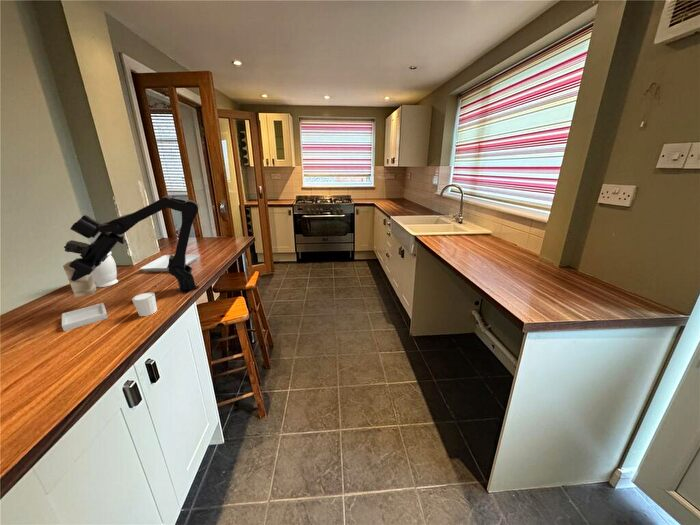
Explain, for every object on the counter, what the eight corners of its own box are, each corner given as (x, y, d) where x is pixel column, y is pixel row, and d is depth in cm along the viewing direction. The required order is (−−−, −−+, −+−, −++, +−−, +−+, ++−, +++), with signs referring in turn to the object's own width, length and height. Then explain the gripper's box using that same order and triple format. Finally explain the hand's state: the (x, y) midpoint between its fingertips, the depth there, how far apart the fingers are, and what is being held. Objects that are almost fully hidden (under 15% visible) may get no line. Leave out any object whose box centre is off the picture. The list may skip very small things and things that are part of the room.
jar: (87, 286, 128) (75, 255, 123) (112, 278, 137) (102, 249, 132) (101, 290, 124) (89, 258, 119) (126, 281, 133) (116, 251, 128)
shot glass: (148, 318, 101) (142, 301, 98) (132, 317, 102) (126, 299, 100) (163, 309, 107) (159, 292, 105) (148, 307, 108) (143, 291, 106)
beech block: (96, 289, 111) (85, 259, 107) (92, 294, 107) (80, 263, 103) (80, 291, 109) (68, 261, 105) (75, 296, 105) (62, 265, 101)
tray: (104, 307, 109) (103, 302, 109) (108, 318, 101) (106, 313, 101) (63, 318, 102) (61, 313, 101) (64, 331, 94) (61, 326, 93)
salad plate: (181, 273, 142) (179, 267, 141) (139, 274, 142) (137, 268, 141) (202, 259, 162) (201, 254, 161) (166, 260, 162) (164, 254, 161)
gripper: (87, 227, 110) (61, 258, 109) (66, 238, 94) (35, 275, 93) (118, 244, 115) (93, 273, 115) (103, 257, 99) (75, 291, 99)
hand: (75, 277), depth 105 cm, fingers closed on beech block, 5 cm apart
